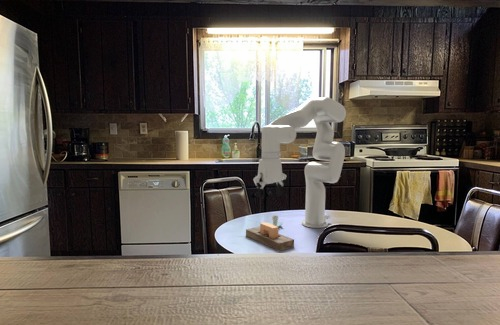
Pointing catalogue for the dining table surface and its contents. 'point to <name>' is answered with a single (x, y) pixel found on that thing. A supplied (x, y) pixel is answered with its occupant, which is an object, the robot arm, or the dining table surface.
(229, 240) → the dining table surface
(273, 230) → the clip
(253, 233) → the rail
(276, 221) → the pacifier
